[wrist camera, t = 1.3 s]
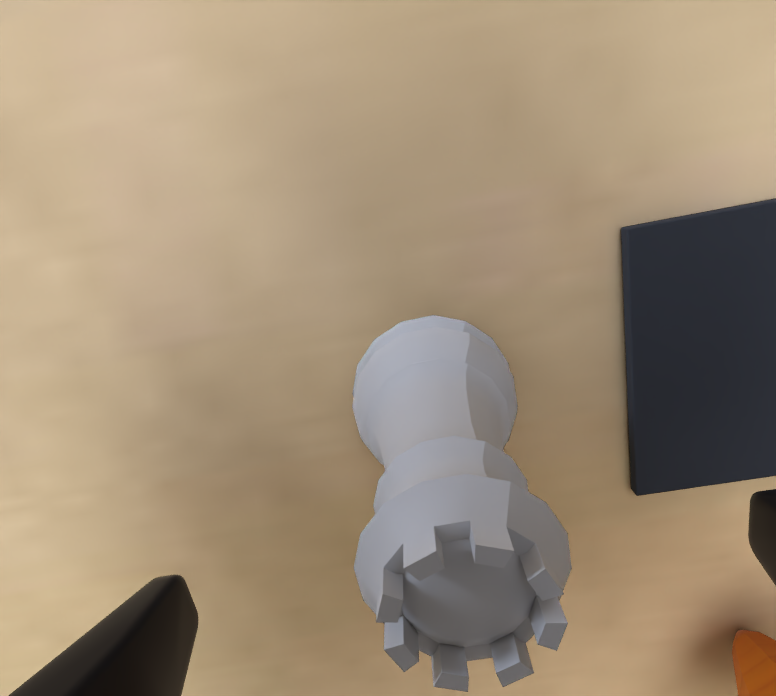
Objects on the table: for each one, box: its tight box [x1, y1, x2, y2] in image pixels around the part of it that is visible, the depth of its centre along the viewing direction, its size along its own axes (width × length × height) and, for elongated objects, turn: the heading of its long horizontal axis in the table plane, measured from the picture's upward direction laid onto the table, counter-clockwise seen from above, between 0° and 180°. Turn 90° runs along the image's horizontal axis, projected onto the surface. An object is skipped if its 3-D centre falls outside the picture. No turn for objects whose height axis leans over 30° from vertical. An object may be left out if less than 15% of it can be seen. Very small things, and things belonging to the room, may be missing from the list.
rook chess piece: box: [352, 315, 572, 692], centre depth 10 cm, size 4×4×8 cm
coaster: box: [621, 199, 776, 496], centre depth 13 cm, size 8×7×1 cm
